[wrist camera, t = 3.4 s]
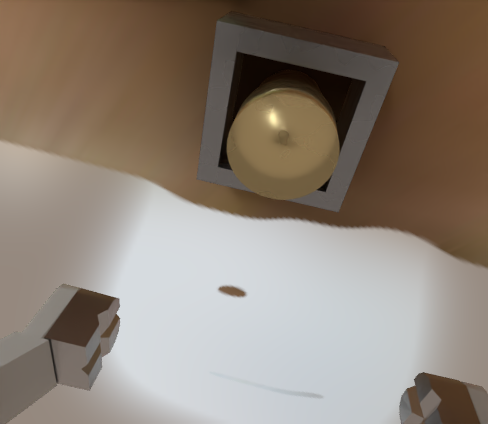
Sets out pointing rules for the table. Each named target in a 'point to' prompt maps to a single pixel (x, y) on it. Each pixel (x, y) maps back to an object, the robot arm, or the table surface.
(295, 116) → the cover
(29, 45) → the table surface
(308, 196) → the box
